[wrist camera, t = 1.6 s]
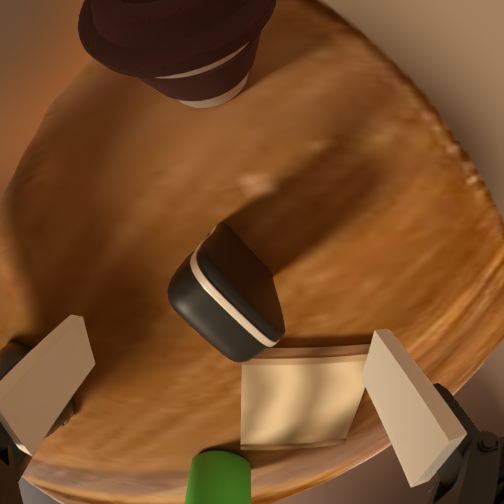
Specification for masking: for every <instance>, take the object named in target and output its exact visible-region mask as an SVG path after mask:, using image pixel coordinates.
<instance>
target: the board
mask: <svg viewBox="0 0 504 504" xmlns="http://www.w3.org/2000/svg"><path fill="white" fill-rule="evenodd" d="M370 345H371V344H363V345H350V346H333V347H308V348H267V349H265V350H264V351H263V352H261V353H260V354H258V355H257V356H256V357H254V358H253V359H251V360H249V361H247V362H242V386H241V450H288V449H303V448H314V447H324V446H332V445H339V444H345V442H346V439H345V438H346V436H347V433H348V431H349V429H350V426H351V424H352V421H353V419H354V416H355V414H356V411H357V409H358V406H359V403H360V401H361V398H362V395H363V392H364V389H365V385H364V383H363V381H362V379H361V376H362V373H363V370H364V366H365V363H366V360H367V356H368V353H369V349H370Z"/></svg>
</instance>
